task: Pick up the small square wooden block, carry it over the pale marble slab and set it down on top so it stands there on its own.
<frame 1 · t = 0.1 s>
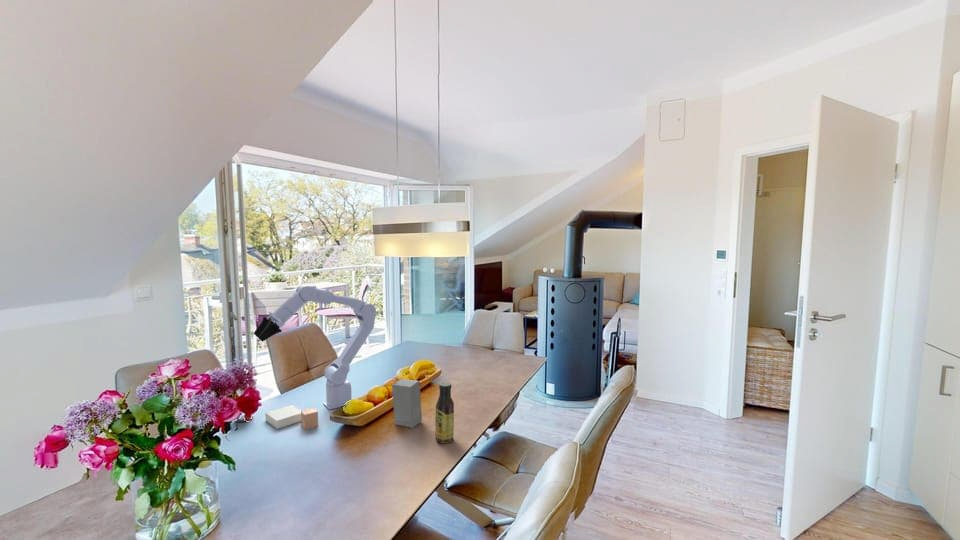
hand: (257, 337, 149), 32 cm above the table, tool tilted 50°, fingers open, 7 cm apart
sauce bottle: (444, 440, 140), on the table
skincare box: (407, 424, 152), on the table
marble slab: (285, 420, 154), on the table
wooden block: (309, 425, 150), on the table
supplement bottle: (244, 419, 155), on the table
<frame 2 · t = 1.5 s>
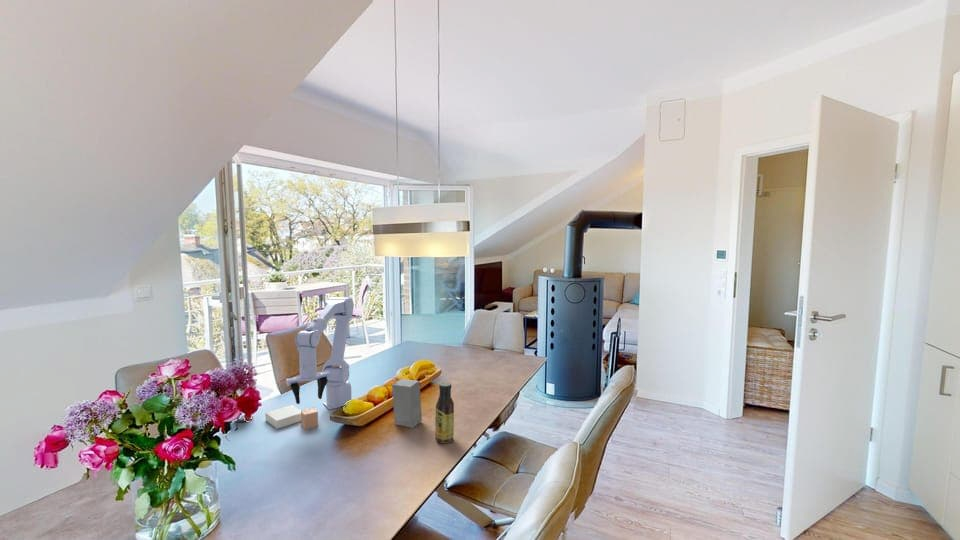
hand: (309, 400, 149), 9 cm above the table, tool pointing down, fingers open, 7 cm apart
nothing on the table moved.
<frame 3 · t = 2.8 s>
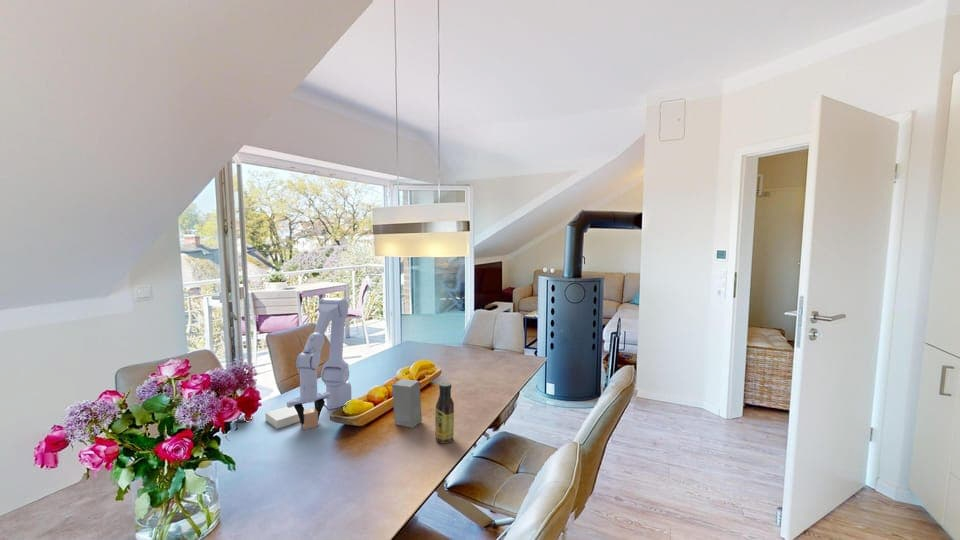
hand: (309, 421, 150), 1 cm above the table, tool pointing down, fingers closed on wooden block, 5 cm apart
wooden block: (309, 425, 150), on the table, touching gripper
everything else where it was.
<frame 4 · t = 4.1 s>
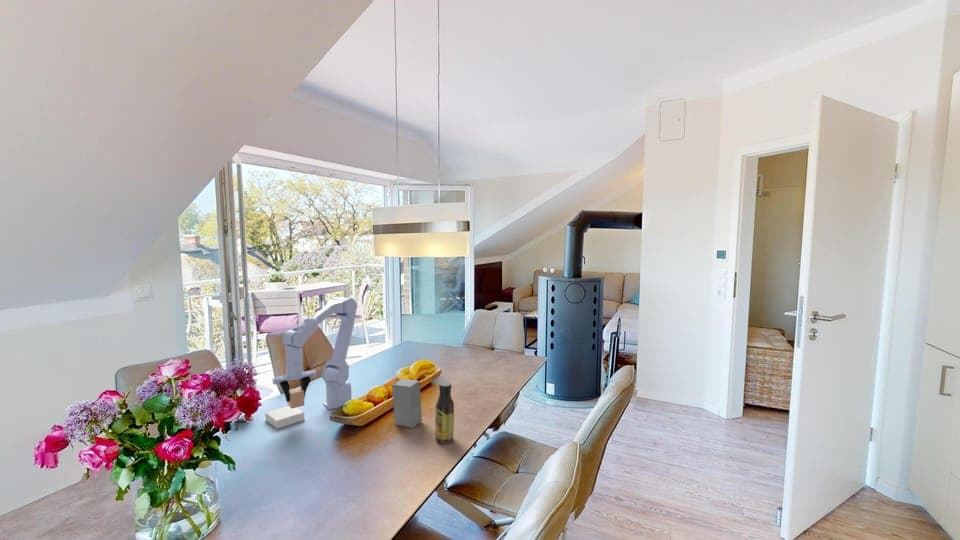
hand: (295, 399, 152), 9 cm above the table, tool pointing down, fingers closed on wooden block, 5 cm apart
wooden block: (295, 405, 152), point 7 cm above the table, touching gripper
everything else where it was.
when the fingers open (5 cm above the table, at t = 5.7 s): wooden block stays where it is, resting on marble slab.
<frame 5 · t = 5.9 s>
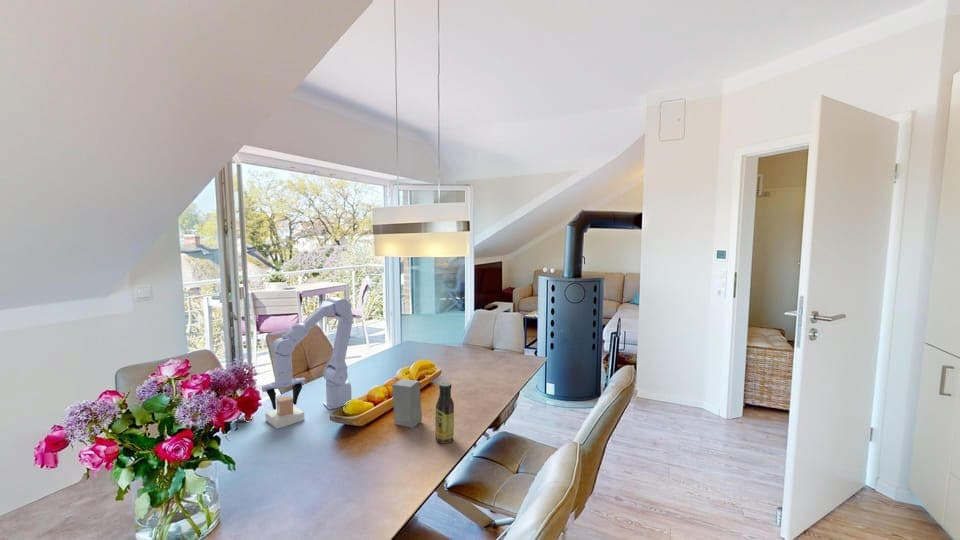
hand: (284, 406, 154), 5 cm above the table, tool pointing down, fingers open, 6 cm apart
wooden block: (285, 412, 154), point 3 cm above the table, touching marble slab
everything else where it was.
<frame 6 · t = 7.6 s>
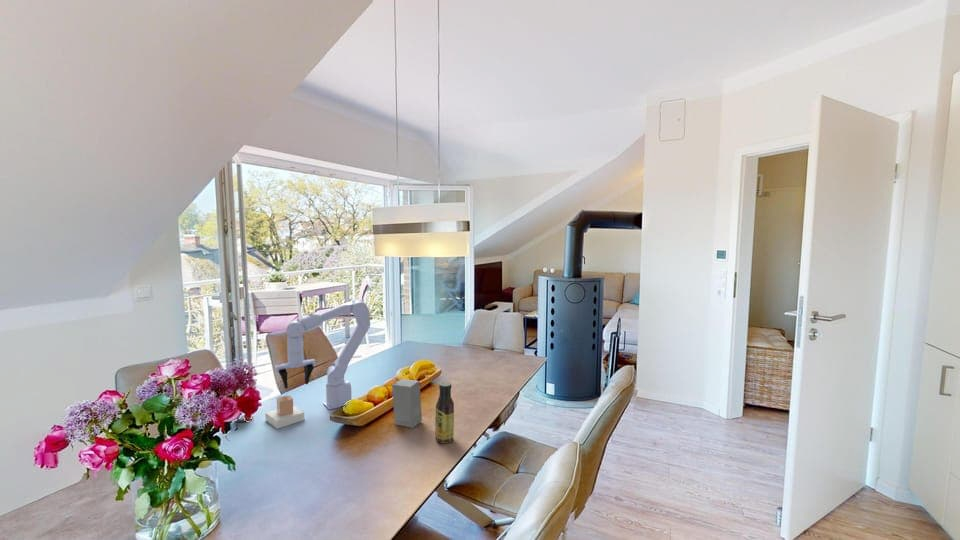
hand: (296, 385, 163), 10 cm above the table, tool pointing down, fingers open, 7 cm apart
nothing on the table moved.
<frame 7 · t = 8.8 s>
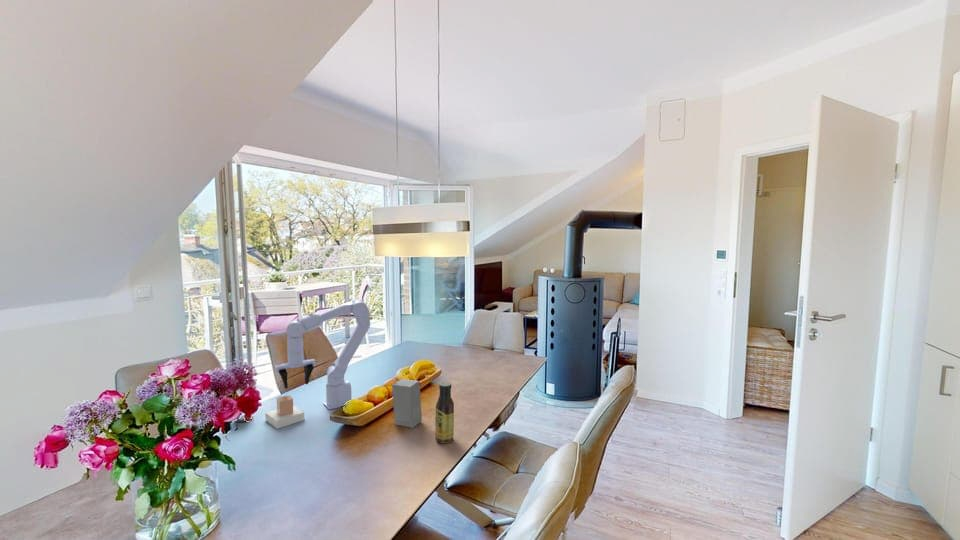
hand: (296, 385, 163), 10 cm above the table, tool pointing down, fingers open, 7 cm apart
nothing on the table moved.
at the end: wooden block inside the target area on the marble slab (0.5 cm from its centre), point 3.0 cm above the marble slab's base; wooden block tilted 0°; the gripper is holding nothing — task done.
